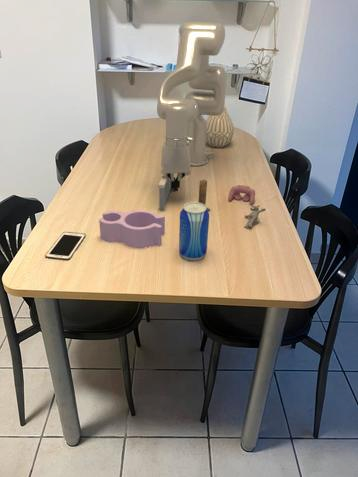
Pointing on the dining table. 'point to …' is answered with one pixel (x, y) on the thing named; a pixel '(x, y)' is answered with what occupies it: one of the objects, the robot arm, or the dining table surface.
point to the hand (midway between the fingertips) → (175, 189)
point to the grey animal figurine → (253, 215)
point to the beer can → (193, 231)
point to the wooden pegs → (200, 192)
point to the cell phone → (65, 246)
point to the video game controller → (242, 189)
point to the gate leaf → (164, 190)
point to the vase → (219, 130)
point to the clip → (132, 228)
